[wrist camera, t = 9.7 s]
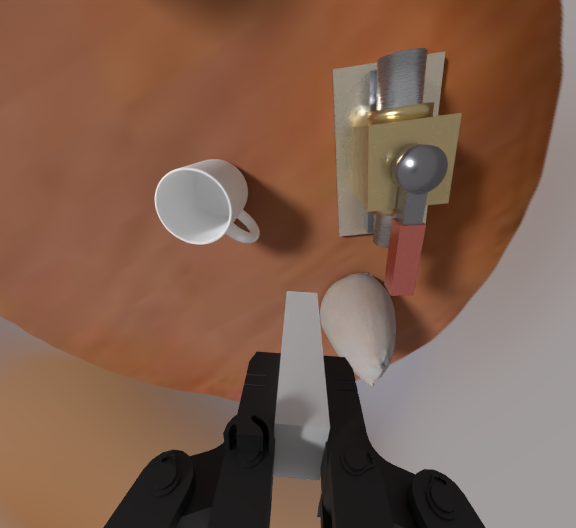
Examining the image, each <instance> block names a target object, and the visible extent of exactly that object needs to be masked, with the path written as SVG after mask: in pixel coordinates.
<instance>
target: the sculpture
mask: <svg viewBox="0 0 576 528" xmlns="http://www.w3.org/2000/svg"><path fill="white" fill-rule="evenodd" d="M368 274H370V273H363V274H362V273H356V274H351V275H349V276H347V277H345V278H343V279H341V280H339V281H337V282H335V283H334V284H333V285H332V286H331V287H330V288H329V289H328V290H327V292H326V294H325V296H324V298H323V300H322V304H321V309H320V320H321V324H322V327H323V330H324V331H325V333H326V335H327V337H328V339H329V340H330V342H331V344H332V346H333V348H334V349H335V351H336V352H337V354H338V355H339V357H345V358H346V359H347V361H348V362H349V364H350V365H351V366H352V368H353V371H354V372H355V373H356V374H357V375H358V376H359V377H360V378H361V379H362V380H363V381H364V382H365V383H366V384H368V385H370V386H373V385H374V382H375V381H376V380H377V379H379V378H380V377H381V376H382V375H383V373H384V372H385V371H386V369H387V368H388V366H389V364H390V362H391V359H392V356H393V351H394V347H395V338H396V316H395V310H394V306H393V303H392V300H391V297H390V295H389V293H388V291H387V290H386V289H385V288H384V286H383V285H382V284H381V283H380V282H379V281H378V280H377V279H376V278H374V277H373V275H368Z"/></svg>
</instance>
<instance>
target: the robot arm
mask: <svg viewBox="0 0 576 528" xmlns="http://www.w3.org/2000/svg"><path fill="white" fill-rule="evenodd" d="M223 434H224V443H223V444H221V445H220V446H218V447H217V448H215V449H212V450H210V451H207V452H204V453H200V454H197V455H193V456H188V455H187V454H186V453H184V452H183V451H179V450H170V451H167V452H163V453H161V454H160V455H158V456H157V457H155V458H154V459H152V460H151V461H150V463H149V464H148V465H147V466H146V467H145V468H144V469H143V471H142V472H141V474H140V475H139V477H138V478H137V480H136V481H135V483H134V484H133V485H132V487H131V488H130V490H129V491H128V493H127V494H126V496H125V497H124V498H123V500H122V502H121V503H120V504H119V506H118V507H117V509H116V510H115V512H114V513H113V514H112V516H111V517H110V519H109V520H108V522H107V524H106V525H105V526H104V528H269V526H270V514H271V513H270V512H271V500H272V485H273V476H276V477H288V478H300V479H312V480H319V479H320V475H321V489H322V494H321V498H320V502H319V507H318V515H317V516H318V517H321V528H485V526H484V525H483V523H482V522H481V520H480V519H479V517H478V515H477V514H476V512H475V511H474V509H473V507H472V506H471V504H470V503H469V501H468V500H467V498H466V497H465V495H464V493H463V492H462V491H461V490H460V488H459V487H458V486H457V485H456V484H455V483H454V482H453V481H452V480H451V479H449V478H448V477H447V476H446V475H444V474H442V473H440V472H438V471H435V470H427V469H424V470H422V471H420V472H418V473H417V474H416V475H415V474H413V473H411V472H408V471H406V470H404V469H402V468H399V467H397V466H395V465H393V464H391V463H389V462H387V461H386V460H385V459H383V458H382V457H381V456H380V455H379V454H378V453H377V452H376V451H375V450H374V448H373V447H372V445H371V443H370V441H369V439H368V436H367V433H366V428H365V423H364V418H363V414H362V409H361V405H360V400H359V396H358V393H357V386H356V383H355V377H354V372H353V368H352V366H351V365H350V364H349V362H348V361H347V359H346V358H345V357H334V356H323V348H322V338H321V328H320V317H319V307H318V296H317V293H308V292H293V291H287V295H286V306H285V317H284V327H283V338H282V349H281V353H269V352H256V353H255V355H254V356H253V357H252V359H251V360H250V361H249V365H248V370H247V375H246V379H245V383H244V387H243V392H242V396H241V401H240V405H239V409H238V414H237V415H236V416H235V417H233V418H232V419H231V421H230V422H229V423H228V424H227V426H226V428H225V431H224V433H223Z"/></svg>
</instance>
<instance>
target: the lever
mask: <svg viewBox="0 0 576 528" xmlns="http://www.w3.org/2000/svg"><path fill="white" fill-rule="evenodd" d="M447 168H448V160H447V157H446V155H445V153H444V152H443V151H442V150H441V149H440V148H439V147H436V146H433V145H425V144H411V145H408V146H406V147H404V148H402V149H401V150H400V151H399V152H398V153H397V154H396V155H395V157H394V158H393V160H392V163H391V167H390V174H391V178H392V180H393V181H394V183H395V184H396V185H398V186H399V187H400V188H399V196H398V203H397V211H396V218H392V225H391V233H390V241H389V249H388V257H387V265H386V273H385V281H384V285H385V286H386V288H387V290H388V292H389V294H390V296H405V295H413V293H414V288H415V283H416V277H417V272H418V267H419V261H420V256H421V250H422V245H423V240H424V234H425V229H426V224H424V223H423V217H424V211H425V206H426V200H427V194H428V192H429V191H431V190H433V189H434V188H436V187H437V186H438V185H439V184H440V183H441V182H442V180H443V179H444V177H445V175H446V172H447Z"/></svg>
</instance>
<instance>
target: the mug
mask: <svg viewBox="0 0 576 528" xmlns="http://www.w3.org/2000/svg"><path fill="white" fill-rule="evenodd" d="M247 198H248V187H247V183H246V180H245V178H244V176H243V175H242V173H241V172H240V171H239V170H238V169H237V168H236V167H235V166H234V165H232V164H231V163H229V162H227V161H224V160H219V159H209V160H205V161H201V162H198V163H195V164H191V165H188V166H185V167H182V168H178V169H175V170H173V171H171V172H169V173H167V174H166V175H165V176H164V177H163V178H162V179H161V181H160V182H159V184H158V186H157V189H156V193H155V207H156V211H157V214H158V216H159V218H160V220H161V222H162V223H163V225H164V226H165V227H166V229H167V230H168V231H169V232H170V233H172V234H173V235H174V236H176V237H177V238H179V239H181V240H182V241H185V242H188V243H191V244H209V243H212V242H215V241H216V240H218V239H220V238H221V237H222V236H223V235H224V234H227V235H228V236H230V237H231V238H233V239H235V240H237V241H240V242H243V243H253V242H255V241H256V240H258V238H259V235H260V231H259V228H258V225H257V224H256V222H255V221H254V220H253V218H252V217H251V216H250V215H249V214H248V213H247V212H245V211H244V210H243V209H244V207H245V205H246V202H247ZM236 218H238V219H239V220H240V221H241V222H242V223H244V224H245V225H246V226H247V228H248V229H249V231H250V232H246V231H244V230H242V229H241V228H239V227H238V226H237V225H235V224H234V223H233V222H234V221H235V220H236Z"/></svg>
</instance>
